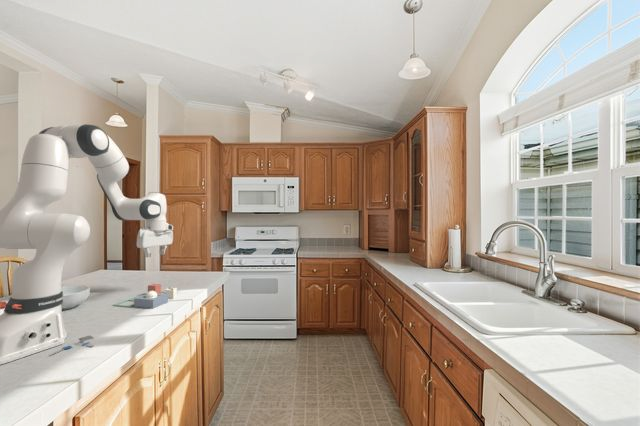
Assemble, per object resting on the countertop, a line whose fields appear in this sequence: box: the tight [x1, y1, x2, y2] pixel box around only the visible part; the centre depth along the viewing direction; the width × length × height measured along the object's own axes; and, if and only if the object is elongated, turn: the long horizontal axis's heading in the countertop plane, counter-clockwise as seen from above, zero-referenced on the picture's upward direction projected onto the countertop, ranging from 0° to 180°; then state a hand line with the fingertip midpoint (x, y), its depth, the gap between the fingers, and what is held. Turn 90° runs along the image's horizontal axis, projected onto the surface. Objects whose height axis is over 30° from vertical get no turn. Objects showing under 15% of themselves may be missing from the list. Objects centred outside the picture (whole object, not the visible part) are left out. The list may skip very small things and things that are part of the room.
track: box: [112, 291, 164, 308], centre depth 139 cm, size 23×9×1 cm, turn 169°
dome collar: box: [133, 293, 169, 309], centre depth 131 cm, size 9×9×4 cm
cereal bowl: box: [61, 285, 91, 311], centre depth 125 cm, size 17×17×7 cm
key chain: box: [48, 335, 95, 357], centre depth 91 cm, size 14×8×1 cm, turn 4°
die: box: [163, 287, 178, 300], centre depth 142 cm, size 4×4×5 cm
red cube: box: [147, 283, 162, 294], centre depth 146 cm, size 4×4×4 cm
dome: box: [145, 291, 157, 298], centre depth 131 cm, size 4×4×5 cm
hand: (155, 255), depth 146 cm, fingers open, 8 cm apart
